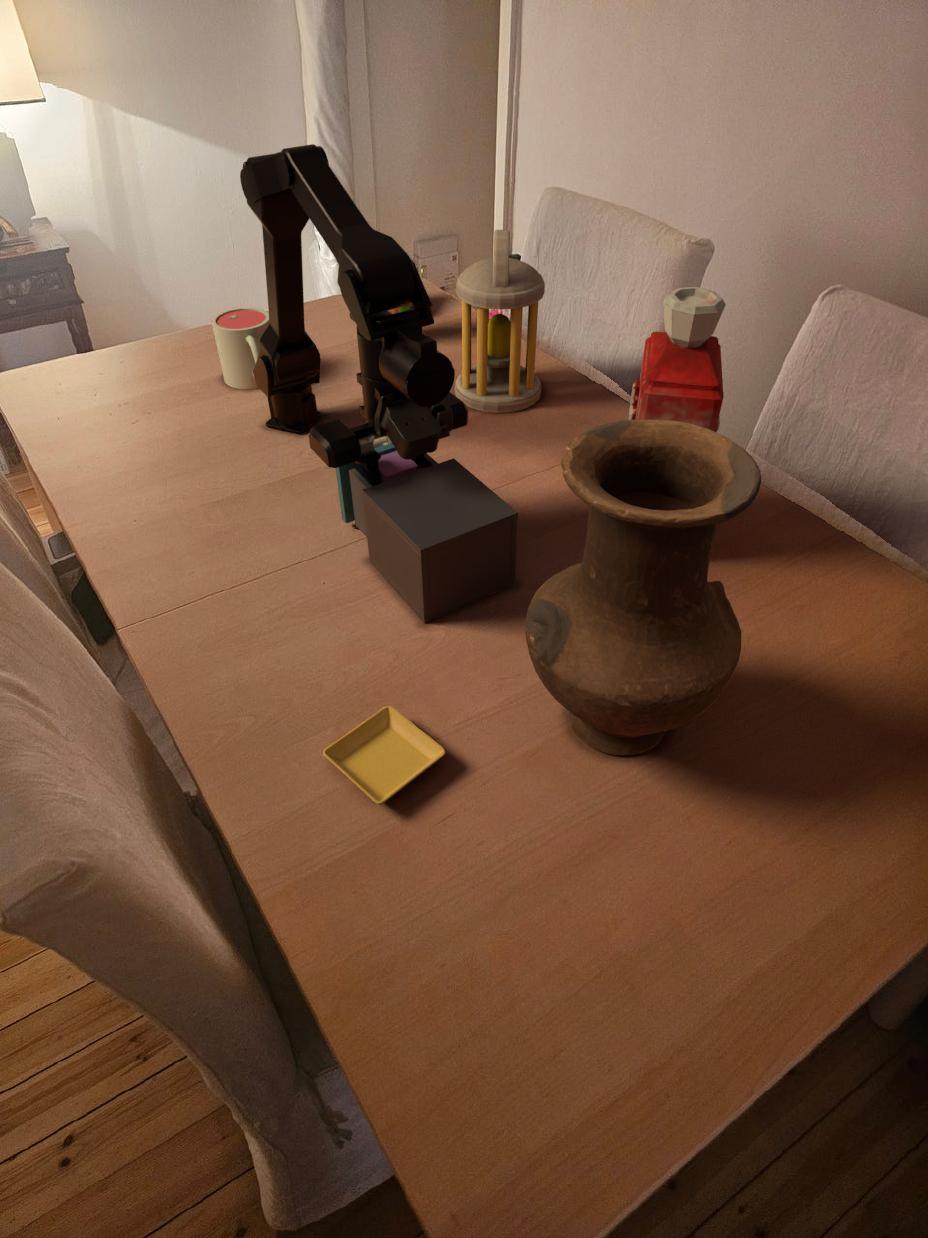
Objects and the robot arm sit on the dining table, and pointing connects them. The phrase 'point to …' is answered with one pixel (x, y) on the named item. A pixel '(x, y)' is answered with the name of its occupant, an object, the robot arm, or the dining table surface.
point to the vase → (642, 583)
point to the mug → (239, 343)
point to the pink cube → (395, 466)
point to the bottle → (683, 363)
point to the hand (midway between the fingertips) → (394, 486)
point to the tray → (362, 485)
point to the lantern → (499, 331)
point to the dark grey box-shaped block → (440, 538)
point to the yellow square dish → (384, 754)
